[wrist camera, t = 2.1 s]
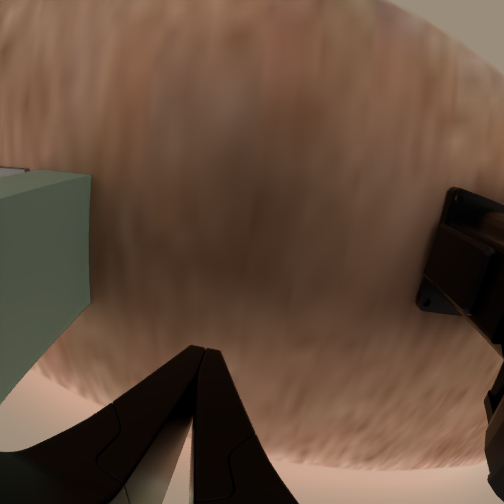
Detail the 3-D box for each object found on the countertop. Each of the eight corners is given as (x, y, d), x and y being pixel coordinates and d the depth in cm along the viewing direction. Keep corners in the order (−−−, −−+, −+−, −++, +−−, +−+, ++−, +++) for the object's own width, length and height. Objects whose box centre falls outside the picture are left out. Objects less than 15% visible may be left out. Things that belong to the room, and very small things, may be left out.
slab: (91, 174, 14) (-57, 218, 5) (90, 303, 16) (-5, 410, 7) (38, 169, 13) (-100, 206, 5) (41, 289, 16) (-58, 374, 7)
